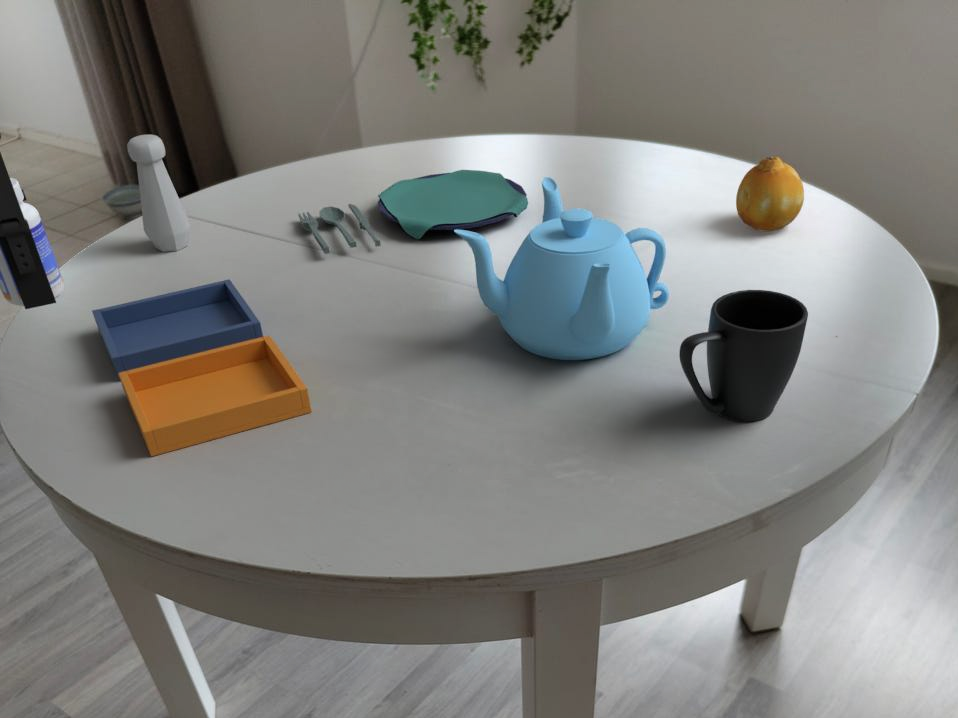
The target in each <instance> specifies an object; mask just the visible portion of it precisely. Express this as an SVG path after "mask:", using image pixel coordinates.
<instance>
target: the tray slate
mask: <svg viewBox="0 0 958 718" xmlns="http://www.w3.org/2000/svg"><path fill="white" fill-rule="evenodd" d="M91 312H92V315H93V318H94V321H95V324H96V327H97V329H98V333H99V335H100V337H101V340H102V342H103V345H104V347H105V349H106V353H107V355H108V356H109V359H110V361H111V363H112V367H113V369H114V372H115V373H116V376H117V378H118V381H119V382H121V380H120V377H119V375H118V373H120V372H124V371H128V370H132V369H136V368H140V367H144V366H148V365H152V364H156V363H160V362H164V361H168V360H172V359H176V358H180V357H184V356H188V355H192V354H196V353H200V352H204V351H208V350H212V349H216V348H220V347H224V346H228V345H232V344H236V343H240V342H244V341H248V340H252V339H256V338H260V337H264V334H263V329H262V323H261V321H260V320H259V318H258V317H257V316H256V314H255V312H254V311H253V310H252V309H251V307H250V306H249V304H248V303H247V302H246V300H245V299H244V297H243V296H242V295H241V293H240V292H239V290H238V289H237V287H236V286H235V285H234V283H233V282H232V281H231V279H230V278H229V279H224V280H219V281H216V282H212V283H207V284H204V285H203V284H202V285H199V286H198V285H197V286H195V287H189V288H186V289H181V290H177V291H173V292H168V293H164V294H158V295H155V296H150V297H147V298H142V299H138V300H133V301H128V302H125V303H120V304H115V305H111V306H107V307H102V308H98V309H92V310H91Z"/></svg>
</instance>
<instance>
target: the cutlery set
mask: <svg viewBox="0 0 958 718" xmlns="http://www.w3.org/2000/svg"><path fill="white" fill-rule="evenodd" d="M377 197H378V198H379V200H378V201H377V204H378V208H379V211H380V214H382V215H383V216H384V217H385V218H387V219H388V220H390V221H391V222H393V223H397V224H399V225H400V226H401V227H402V229H403V230H404V232H406V233H407V234H408V235H409V236H411V237H413V238H414V239H416V240H420V239H421V238H422V237H423V236H424V235H425V233H426V232H428V230H434V231H435V230H437V231H438V230H442V231H443V230H446V231H447V230H451V231H454V230H464V229H471V228H478V227H481V226H486V225H489V224H493V223H497V222H499V221H502V220H504V219H506V218H508V217H511V216H513V217H515V218H518V217H519V216H520V214H521V213H523V212H524V211H525V210H526V209H527V208H528V206H529V200H528V198H527V192H526V191H525V189H524V188H523V186H522V185H520V184H519V183H517V182H516V181H513V180H512V179H510V178H506V177H504V176H503V175H502V173H500V172H492V171H488V170H487V171H486V170H478V169H477V170H476V169H458V170H455V171H452V172H444V173H435V174H428V175H423V176H419V177H414V178H409V179H402V180H399V181H396V182H394V183H393V184H391V185H390V186H388V187H387V188H386V189H384V190H382V191H381V192H380V193H379V194H377ZM347 205H348V208H349V209H350V210H351V212H352V214H353V215H354V216H355V218H356V219H357V221H358V222H359V229H360V230H363V231H366V232H367V233H368V235H369V236H370V237H371V238H372V240H373V242H374V246H375V247H376V248H377V247H381V244H382V243H381V240H380V239H378V238H377V237H376V235H375V234H374V232H373V230H372V229H371V225H370V222H369V219H368V218H367V219H366V218H365V216H364V214H363V213H362V211H361V210H360V209H359V207H358V206H357V205H355V204H352V203H348V204H347ZM297 216H298V218H299V221H300V224H301V226H302V228H303V230H306V231H307V232H311V233H312V235H313V238H314V240H315V241H316V242H317V244H318V246H319V247H320V249H321V250H322V252H323V253H324V254H325V255H328V254H330V253H331V252H330V247H329V245H328V244H327V242H326V240H325V239H324V238H323V237H322V236H321V234H320V232H319V231H318V229H317V228H318V227H319V222H318V220H316V218H315V217H313V216H312V215H311V213H310V212H309V211H306V214H305V212H302V214H300V213H299V212H298V213H297ZM319 217H320V220H322V222H325V223H326V224H327V225H328V224H329V225H334V226H336V227H337V229H338V230H339V231H340V233H341V234H342V236H343V238H344V239H345V241H346V243H347V244H348V246H349V248H350V249H352V248H357V241H356V240H355V238H353V236H352V235H351V234H350V233H349V231H348V230H347V229H345V227H344V226H343V225H341V223H342V222H343V221H344V220H345V217H346V216H345V211H344V210H342V209H341V208H339V207H335V206H324V207H322V208H321V209H320V210H319Z"/></svg>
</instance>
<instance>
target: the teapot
mask: <svg viewBox="0 0 958 718" xmlns="http://www.w3.org/2000/svg"><path fill="white" fill-rule="evenodd" d="M541 187H542V193H543V204H544V205H543V213H542V214H543V215H542V221H541V223H538V224H537V225H536V226H534V227H533V228H532V229H531V230H530V231H529V233H528V234H527V235H526V237H525V238H524V239H523V240H522V242H521V244H520V245H519V248H518V249H517V251H516V253H515V254H514V256H513V258H512V259H511V261H510V263H509V266H508V267H507V270H506V272H505V274H504V278H503V280H502V279H500V278H499V277H498V276H497V274H496V273H495V269H494V262H493V256H492V250H491V247H490V245H489V242H488V241H487V239H486V238H485V237H484V236H483V235H481V234H480V233H478V232H474V231H470V230H467V229H466V230H465V229H454V230H453V231H454V233H455V234H456V235H458V236H459V237H460V238H462V239H463V240H464V241H465V242H467V244H468V245H469V247H470V249H471V252H472V254H473V257H474V263H475V279H476V286H477V287H476V288H477V290H478V294H479V297H480V299H481V301H482V303H483V305H484V306H485V307H486V308H487V309H488V311H489V312H490V313H492V314H493V315H495V316H496V317H498V319H499V322H500V323H501V324H500V325H501V326H502V329H504V331H506V334H508V335H509V336H510V337H511V339H512V340H513V341H514V342H515V343H517V344H518V345H519V347H521V348H522V349H524V350H525V351H527V352H528V353H531V354H533V355H537V356H540V357H543V358H547V359H553V360H560V361H584V360H591V359H592V360H593V359H599V358H602V357H606V356H609V355H612V354H614V353H617V352H619V351H621V350H622V349H624V348H625V347H627V346H628V345H629V344H630V343H632V342H633V340H635V339H636V337H638V335H640V334H641V333H642V331H643V330H644V329H645V327H646V326H647V323H648V322H649V319H650V317H651V310H658V309H660V308H662V307H664V306H666V304H667V303H668V301H669V298H670V290H669V288H668V286H667V285H666V284H665V283H664V282H658V281H659V279H660V276H661V274H662V272H663V267H664V265H665V261H666V255H667V247H666V243H665V240H664V239H663V237H662V236H661V234H659V233H658V232H657V231H655V230H654V229H651V228H647V227H646V228H645V227H638V228H634V229H631V230H630V231H627V232H626V233H625V232H624V231H623V229H622V228H620V227H619V226H618V225H617V224H615V223H614V222H611V221H609V220H607V219H603V218H599V217H594V214H593V212H592V211H591V210H588V209H585V208H570V209H569V208H568V209H566V210H564V207H563V203H562V198H561V193H560V189H559V186H558V184H557V183H556V181H555V180H554V179H553V178H551V177H547V176H546V177H543V179H542V180H541ZM641 241H648V242H651V243H653V244H654V249H655V250H654V256H653V261H652V263H651V265H650V269H649V271H648V275H646V272H645V269H644V266H643V265H642V263H641V260H640V258H639V257H638V254H637V253H636V251H635V249H634V247H633V245H632V244H634V243H636V242H641ZM654 292H661V293H660V294H659V295H658V296H656V297H654Z"/></svg>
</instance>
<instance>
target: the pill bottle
mask: <svg viewBox="0 0 958 718" xmlns="http://www.w3.org/2000/svg"><path fill="white" fill-rule="evenodd" d="M10 180H11V183H12V186H13V188H14V191H15V194H16V197H17V199H18V202H19V205H20V208H21V211H22V213H23V216H24V219H26V220H27V222H28V224H29V228H30V231H31V233H32V236H33V239H34V242H35V245H36V247H37V250H38V253H39V256H40V258H41V261H42V264H43V267H44V270H45V272H46V275H47V278H48V281H49V283H50V286H51V289H52V292H53V295H54V297H55V299H57V298H58V297H60V296H61V295H62V294H63V293H64V291H65V283H64V280H63V277H62V275H61V274H62V273H61V272H60V269H59V266H58V263H57V260H56V258H55V255H54V252H53V248H52V246H51V243H50V241H49V238H48V236H47V233H46V230H45V227H44V224H43V221H42V219H41V216H40V213H39V211H38V209H36V207H35V206H33V205H32V204H30V203H27V202H25V201H22V200H23V199H24V196H23V193H22V191H21V190H22V188H21V185H20V183H19V181H18V179H16V178H13V177H10ZM0 291H1V294H2V295H3V298H4V299H5V300H6V302H8V303H9V304H11V305H15V306H19V307H21V306H22V307H24V304H23V302H22V299H21V296H20V294H19V291H18V289H17V286H16V284H15V281H14V278H13V276H12V273H11V271H10V268H9V265H8V263H7V260H6V258H5V255H4V252H3V250H2V247H1V245H0Z"/></svg>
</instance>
